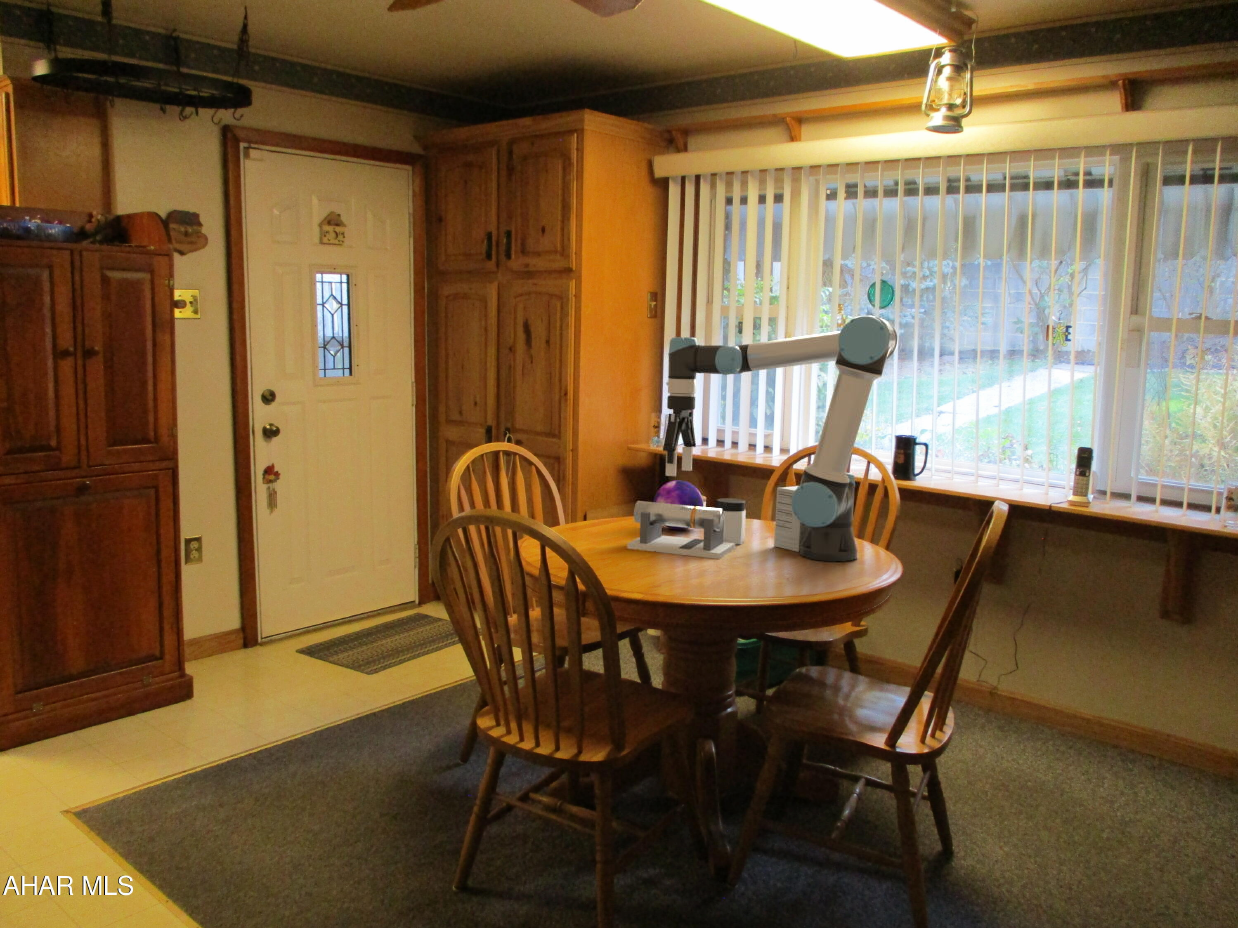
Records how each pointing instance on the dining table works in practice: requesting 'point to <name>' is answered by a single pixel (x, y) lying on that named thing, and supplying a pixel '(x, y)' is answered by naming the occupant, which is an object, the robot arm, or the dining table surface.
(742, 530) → the jar
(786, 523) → the supplement box
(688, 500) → the decorative orb
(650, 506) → the steel tube
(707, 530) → the cradle stand
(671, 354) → the robot arm
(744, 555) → the dining table surface
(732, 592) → the dining table surface
